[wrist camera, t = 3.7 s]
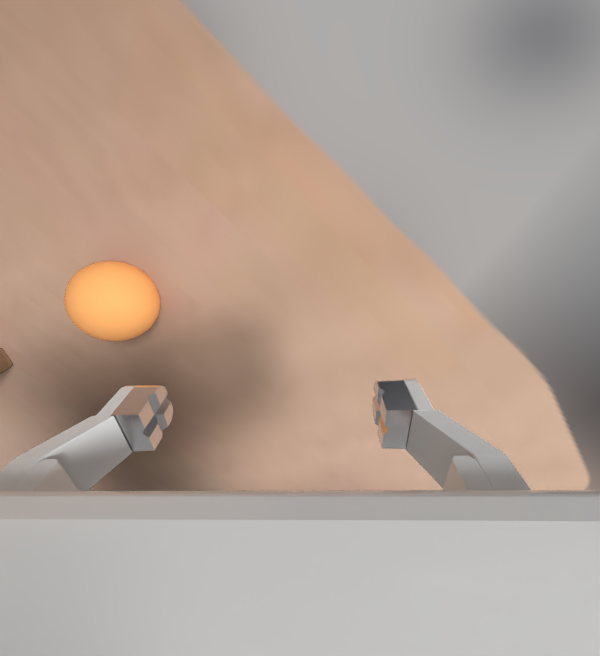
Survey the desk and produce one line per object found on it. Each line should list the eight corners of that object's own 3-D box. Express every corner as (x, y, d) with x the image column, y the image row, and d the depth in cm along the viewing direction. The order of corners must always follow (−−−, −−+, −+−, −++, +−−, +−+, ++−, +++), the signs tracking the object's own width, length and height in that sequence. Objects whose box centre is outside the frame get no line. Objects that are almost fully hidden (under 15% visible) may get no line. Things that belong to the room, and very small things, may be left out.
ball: (161, 250, 22) (115, 273, 17) (181, 318, 25) (146, 355, 20) (89, 254, 23) (21, 277, 17) (116, 320, 25) (65, 358, 20)
